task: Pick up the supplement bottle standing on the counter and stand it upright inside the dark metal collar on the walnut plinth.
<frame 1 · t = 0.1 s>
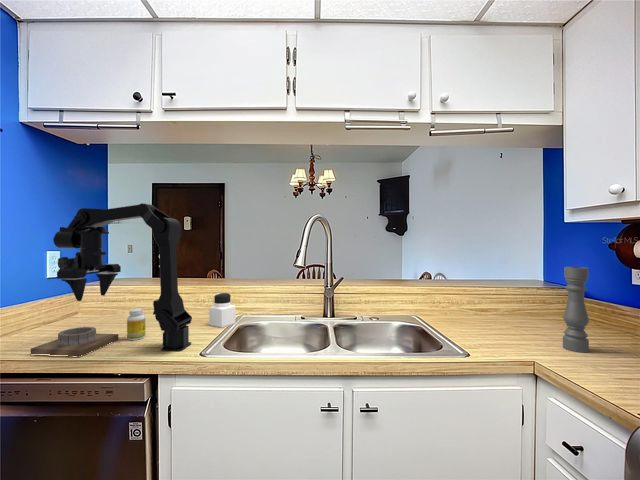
hand: (91, 298, 99), 15 cm above the counter, tool pointing down, fingers open, 9 cm apart
candle holder: (575, 349, 96), on the counter
medicine bottle: (222, 324, 122), on the counter
supplement bottle: (136, 338, 105), on the counter
wick stand: (77, 347, 96), on the counter
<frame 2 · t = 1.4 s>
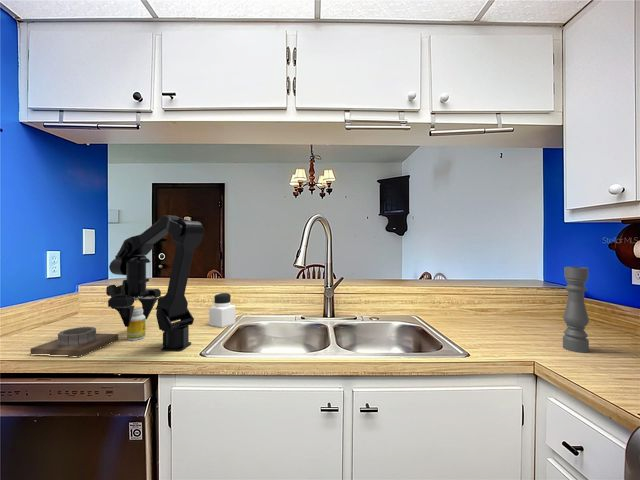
hand: (136, 322, 105), 5 cm above the counter, tool pointing down, fingers open, 9 cm apart
nothing on the counter moved.
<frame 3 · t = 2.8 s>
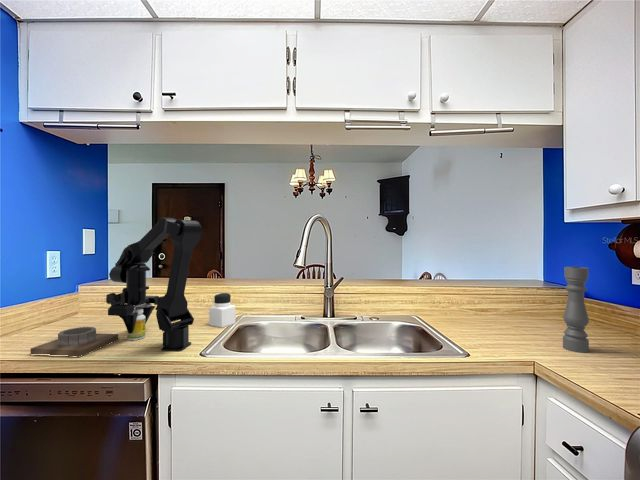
hand: (136, 330, 105), 3 cm above the counter, tool pointing down, fingers closed on supplement bottle, 5 cm apart
supplement bottle: (136, 338, 105), on the counter, touching gripper
everything else where it was.
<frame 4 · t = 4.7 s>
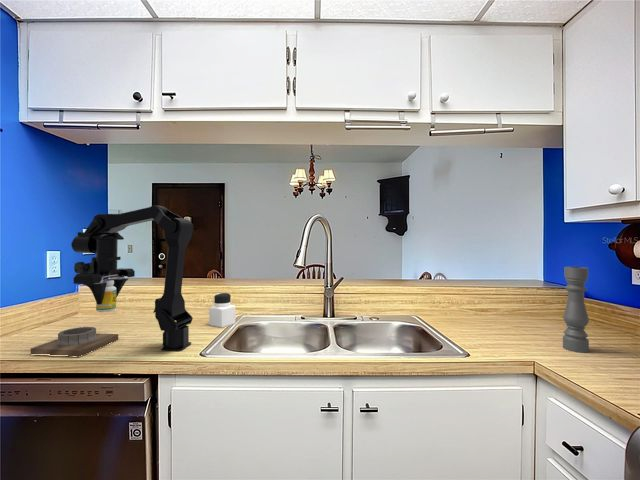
hand: (106, 302, 101), 13 cm above the counter, tool pointing down, fingers closed on supplement bottle, 5 cm apart
supplement bottle: (106, 311, 101), point 10 cm above the counter, touching gripper
everything else where it was.
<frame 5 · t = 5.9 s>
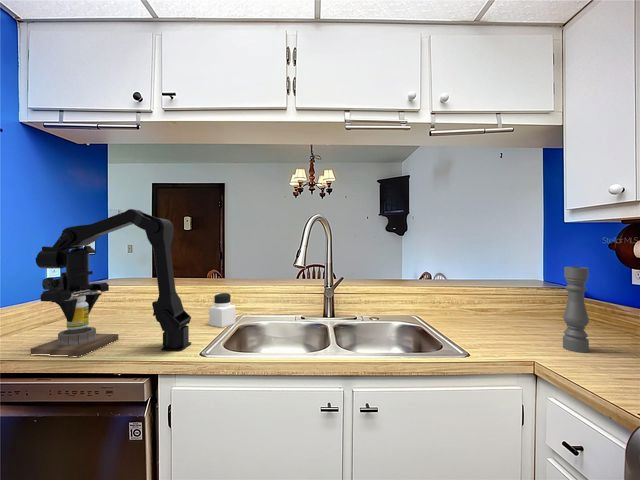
hand: (77, 319, 96), 9 cm above the counter, tool pointing down, fingers closed on supplement bottle, 5 cm apart
supplement bottle: (77, 328, 96), point 6 cm above the counter, touching gripper
everything else where it was.
when the fingers open (6 cm above the counter, at t = 6.8 s): supplement bottle drops 1 cm, resting on wick stand.
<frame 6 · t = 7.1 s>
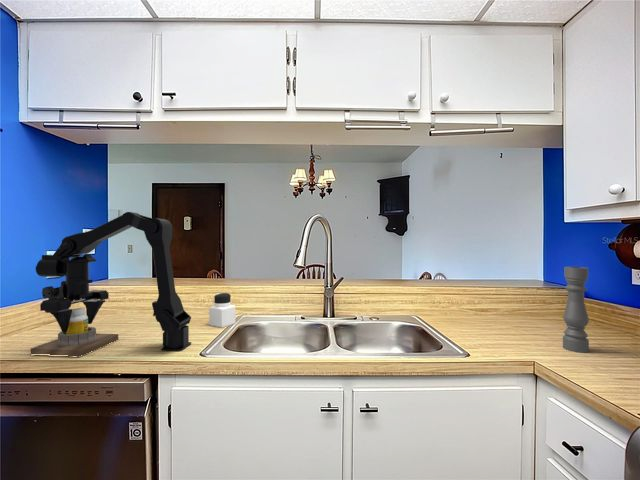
hand: (77, 327, 96), 6 cm above the counter, tool pointing down, fingers open, 9 cm apart
supplement bottle: (77, 341, 96), point 2 cm above the counter, touching wick stand
everything else where it was.
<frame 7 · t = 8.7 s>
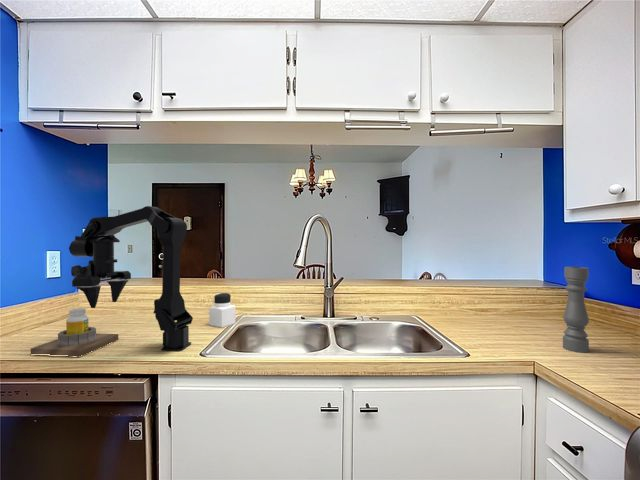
hand: (104, 304, 102), 12 cm above the counter, tool pointing down, fingers open, 9 cm apart
nothing on the counter moved.
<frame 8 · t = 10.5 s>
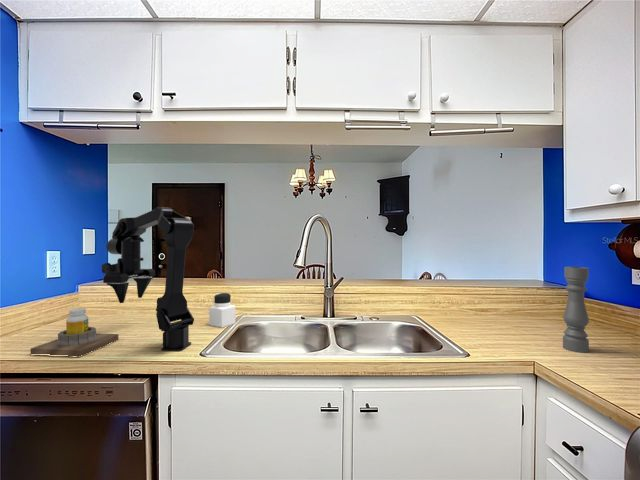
hand: (131, 300, 109), 12 cm above the counter, tool pointing down, fingers open, 9 cm apart
nothing on the counter moved.
at the end: supplement bottle 0.0 cm off-centre on the wick stand, point 1.8 cm above the wick stand's base; supplement bottle tilted 0°; the gripper is holding nothing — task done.
